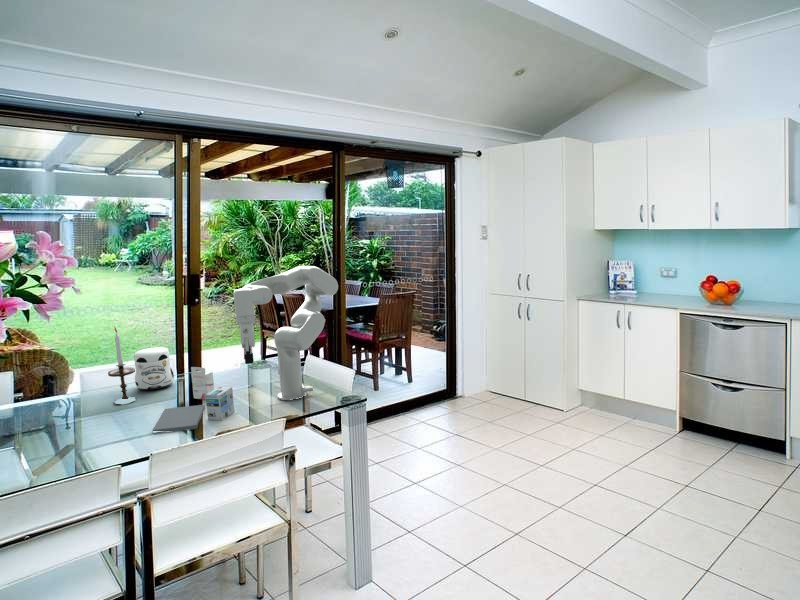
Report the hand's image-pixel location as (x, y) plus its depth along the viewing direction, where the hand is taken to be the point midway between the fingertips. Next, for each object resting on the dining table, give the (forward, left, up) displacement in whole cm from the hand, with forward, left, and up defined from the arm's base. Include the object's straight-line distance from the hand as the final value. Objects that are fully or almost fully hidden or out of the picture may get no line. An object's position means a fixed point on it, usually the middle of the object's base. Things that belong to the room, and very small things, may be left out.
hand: (249, 362), depth 231 cm
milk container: (+49, -52, -21) cm, 75 cm away
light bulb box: (+13, 0, -21) cm, 25 cm away
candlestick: (+58, -33, -21) cm, 70 cm away
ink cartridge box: (+23, -27, -21) cm, 41 cm away
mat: (+29, 0, -21) cm, 36 cm away
